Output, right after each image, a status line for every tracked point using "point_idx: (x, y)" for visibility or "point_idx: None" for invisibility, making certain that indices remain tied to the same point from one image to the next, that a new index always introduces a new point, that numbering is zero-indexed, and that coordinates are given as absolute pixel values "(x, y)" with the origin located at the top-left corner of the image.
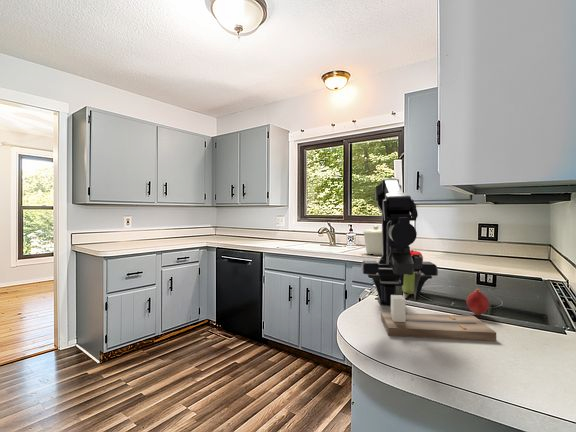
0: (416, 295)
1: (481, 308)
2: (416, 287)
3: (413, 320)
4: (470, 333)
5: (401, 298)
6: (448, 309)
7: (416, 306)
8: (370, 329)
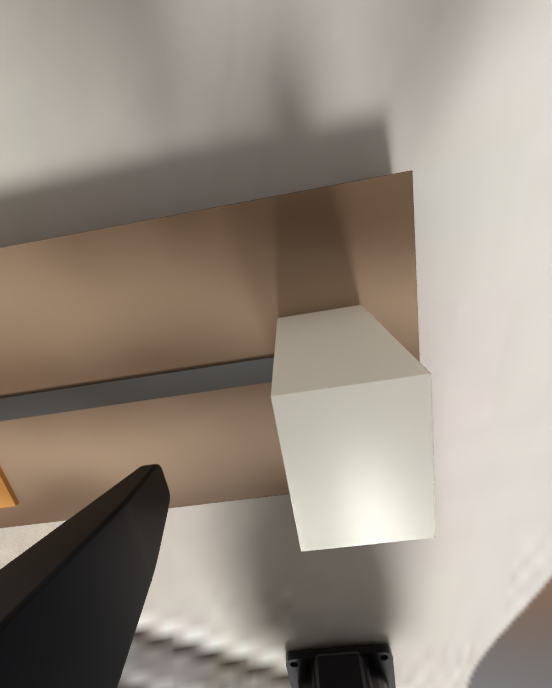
0: (120, 501)
1: None
2: (52, 637)
3: (222, 371)
4: None
5: (319, 424)
6: None
7: (206, 653)
8: (499, 259)
